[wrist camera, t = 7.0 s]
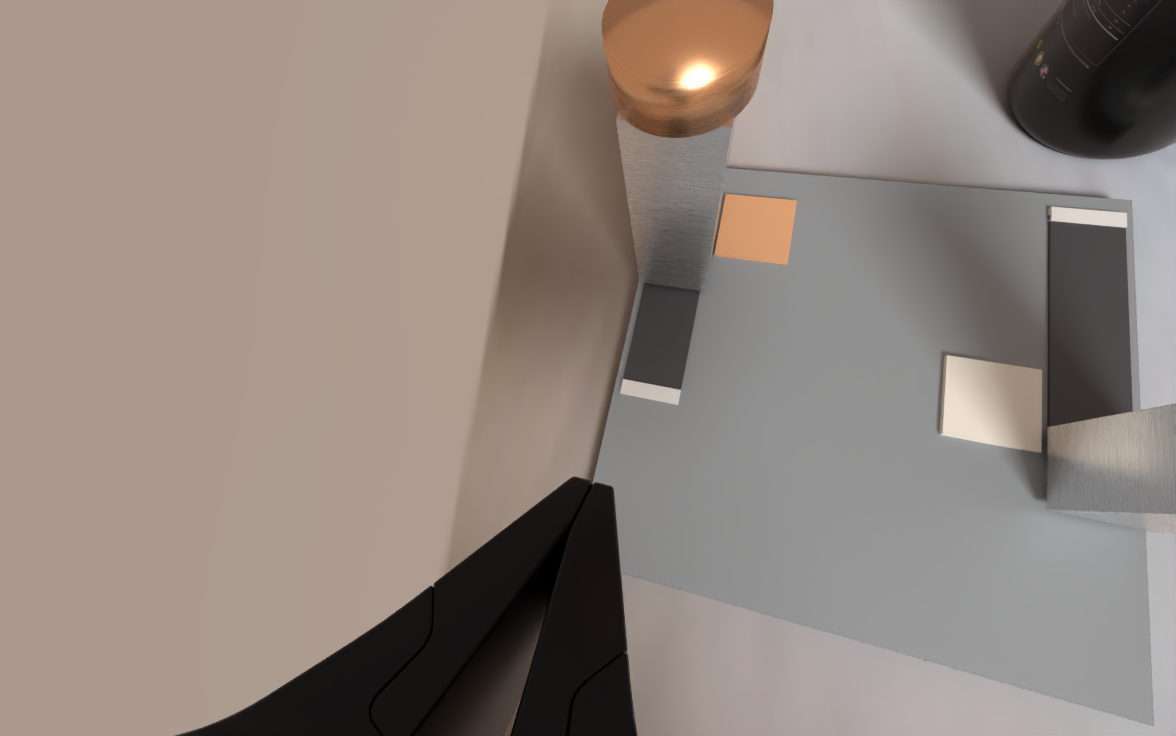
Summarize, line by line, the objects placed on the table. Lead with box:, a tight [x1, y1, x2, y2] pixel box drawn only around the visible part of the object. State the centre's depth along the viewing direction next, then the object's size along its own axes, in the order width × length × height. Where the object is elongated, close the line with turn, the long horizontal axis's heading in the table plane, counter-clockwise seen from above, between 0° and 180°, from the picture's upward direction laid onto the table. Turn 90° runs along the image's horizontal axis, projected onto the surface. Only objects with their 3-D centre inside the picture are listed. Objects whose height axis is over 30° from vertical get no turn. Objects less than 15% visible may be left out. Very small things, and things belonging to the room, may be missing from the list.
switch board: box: [593, 168, 1154, 726], centre depth 18 cm, size 18×18×1 cm
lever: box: [602, 0, 773, 291], centre depth 15 cm, size 4×4×11 cm
